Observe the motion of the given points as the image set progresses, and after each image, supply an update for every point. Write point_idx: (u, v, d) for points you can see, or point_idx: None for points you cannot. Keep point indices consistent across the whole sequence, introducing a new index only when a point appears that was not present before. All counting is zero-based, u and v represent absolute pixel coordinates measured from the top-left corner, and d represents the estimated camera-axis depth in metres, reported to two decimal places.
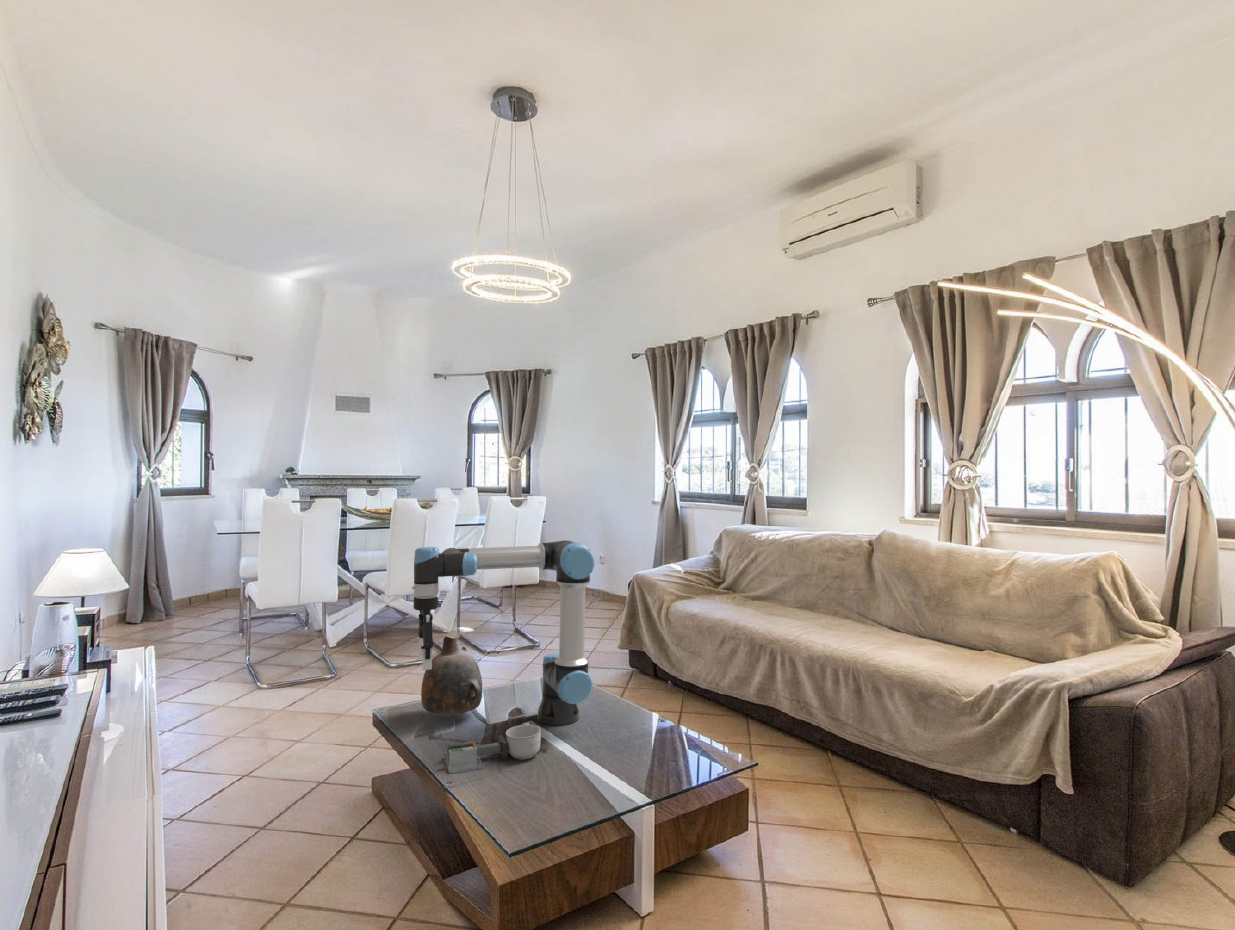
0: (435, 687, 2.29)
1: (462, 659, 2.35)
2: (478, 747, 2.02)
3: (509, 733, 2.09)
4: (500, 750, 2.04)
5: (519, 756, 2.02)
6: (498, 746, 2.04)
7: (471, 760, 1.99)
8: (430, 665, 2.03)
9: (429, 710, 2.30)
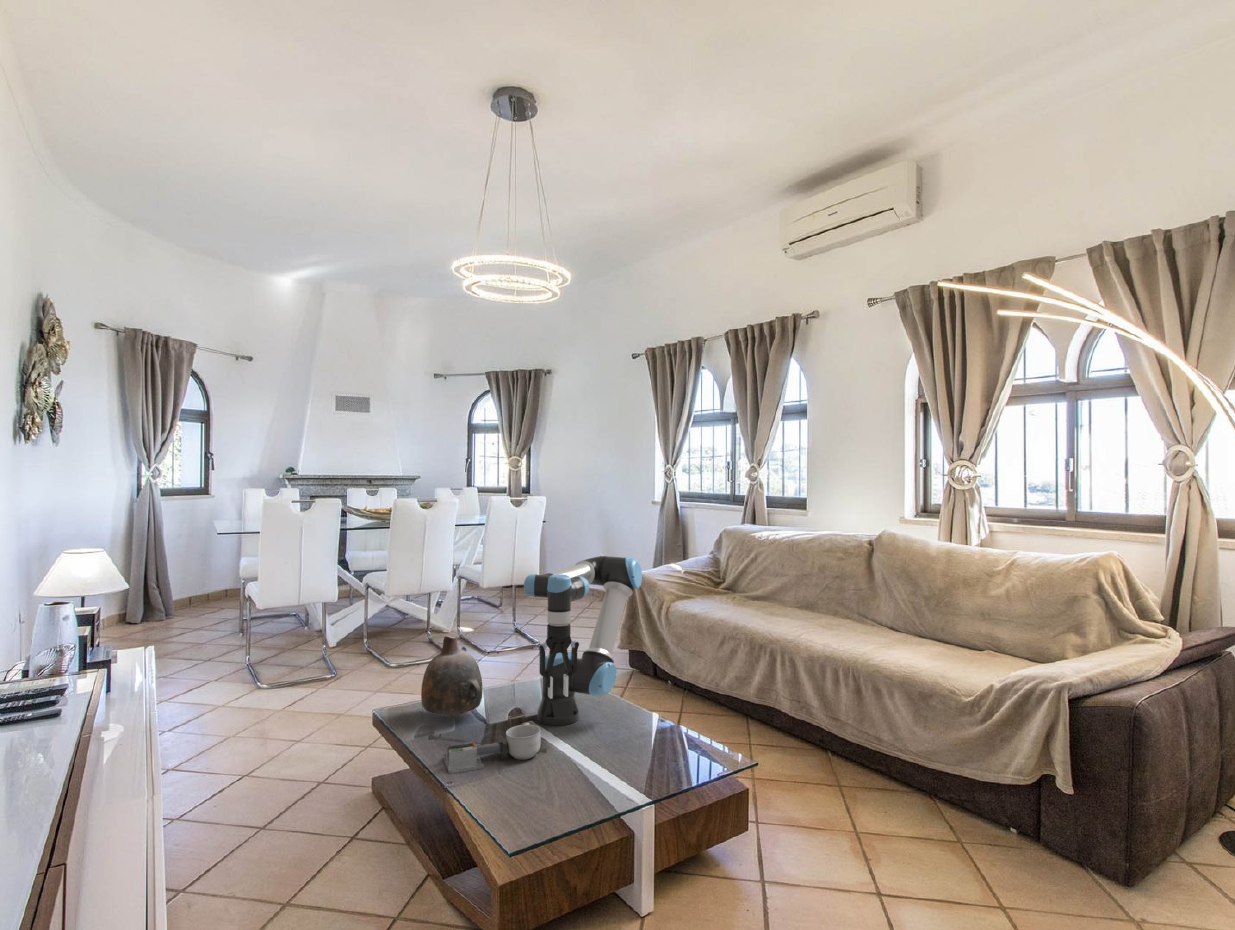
0: (435, 687, 2.29)
1: (462, 659, 2.35)
2: (478, 747, 2.02)
3: (509, 733, 2.09)
4: (500, 750, 2.04)
5: (519, 756, 2.02)
6: (498, 746, 2.04)
7: (471, 760, 1.99)
8: (550, 694, 2.11)
9: (429, 710, 2.30)
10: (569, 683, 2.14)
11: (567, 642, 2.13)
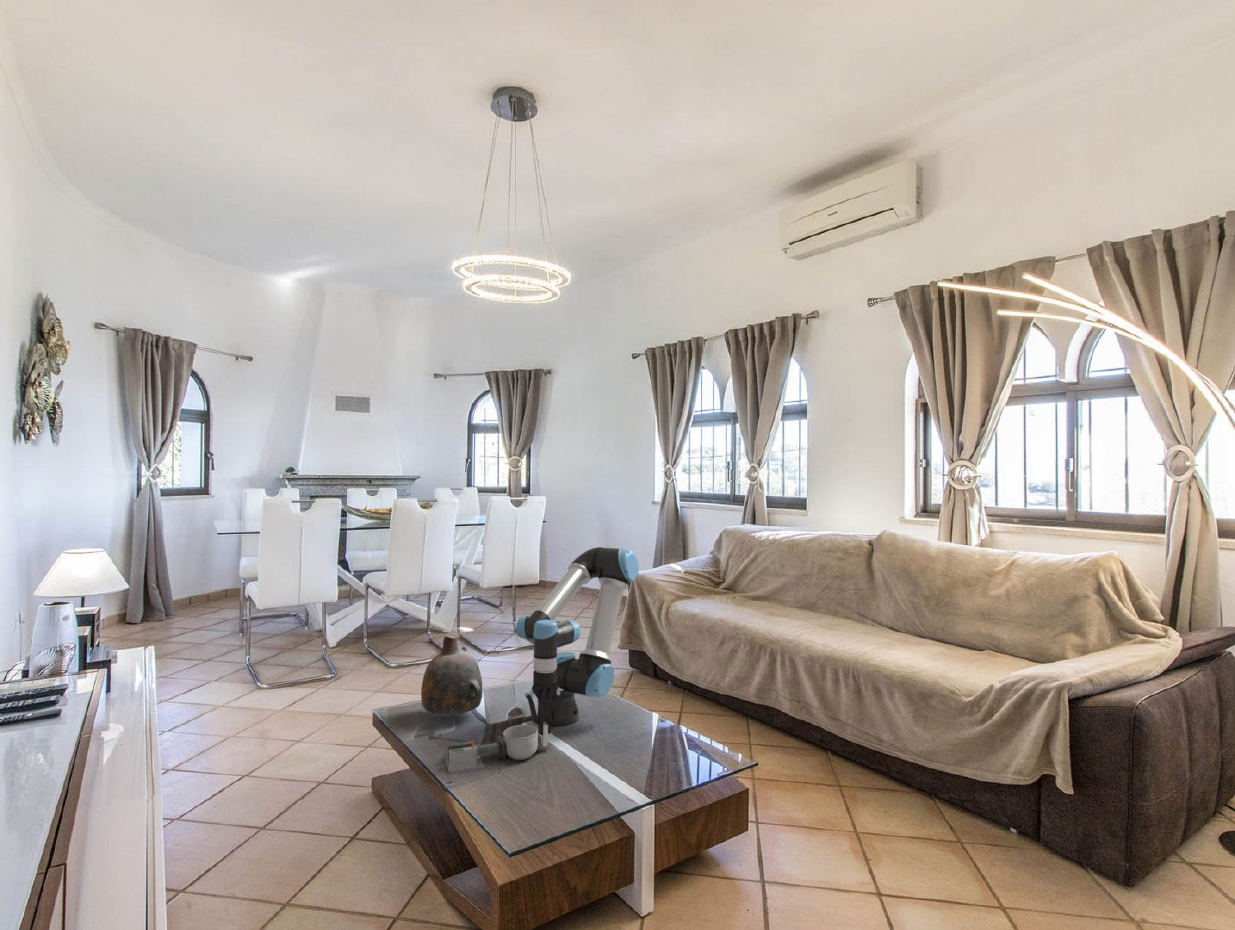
0: (435, 687, 2.29)
1: (462, 659, 2.35)
2: (477, 747, 2.02)
3: (506, 733, 2.08)
4: (499, 750, 2.04)
5: (516, 756, 2.02)
6: (497, 746, 2.04)
7: (471, 760, 1.99)
8: (543, 742, 2.09)
9: (429, 710, 2.30)
10: (549, 732, 2.11)
11: (553, 688, 2.11)
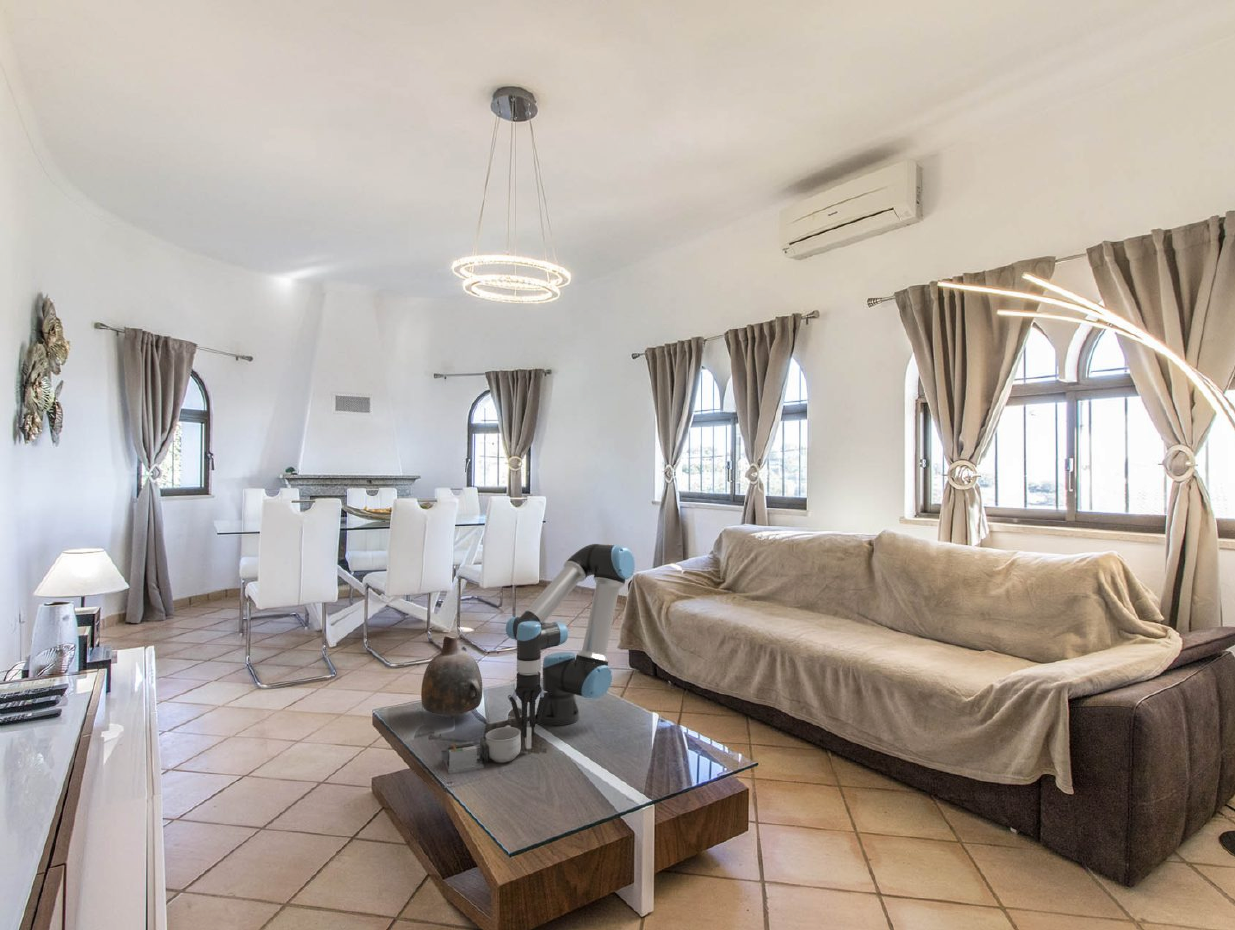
0: (435, 687, 2.29)
1: (462, 659, 2.35)
2: None
3: (489, 735, 2.06)
4: (481, 753, 2.02)
5: (498, 759, 2.00)
6: (479, 748, 2.02)
7: (471, 760, 1.99)
8: (526, 744, 2.07)
9: (429, 710, 2.30)
10: (532, 734, 2.09)
11: (537, 690, 2.09)
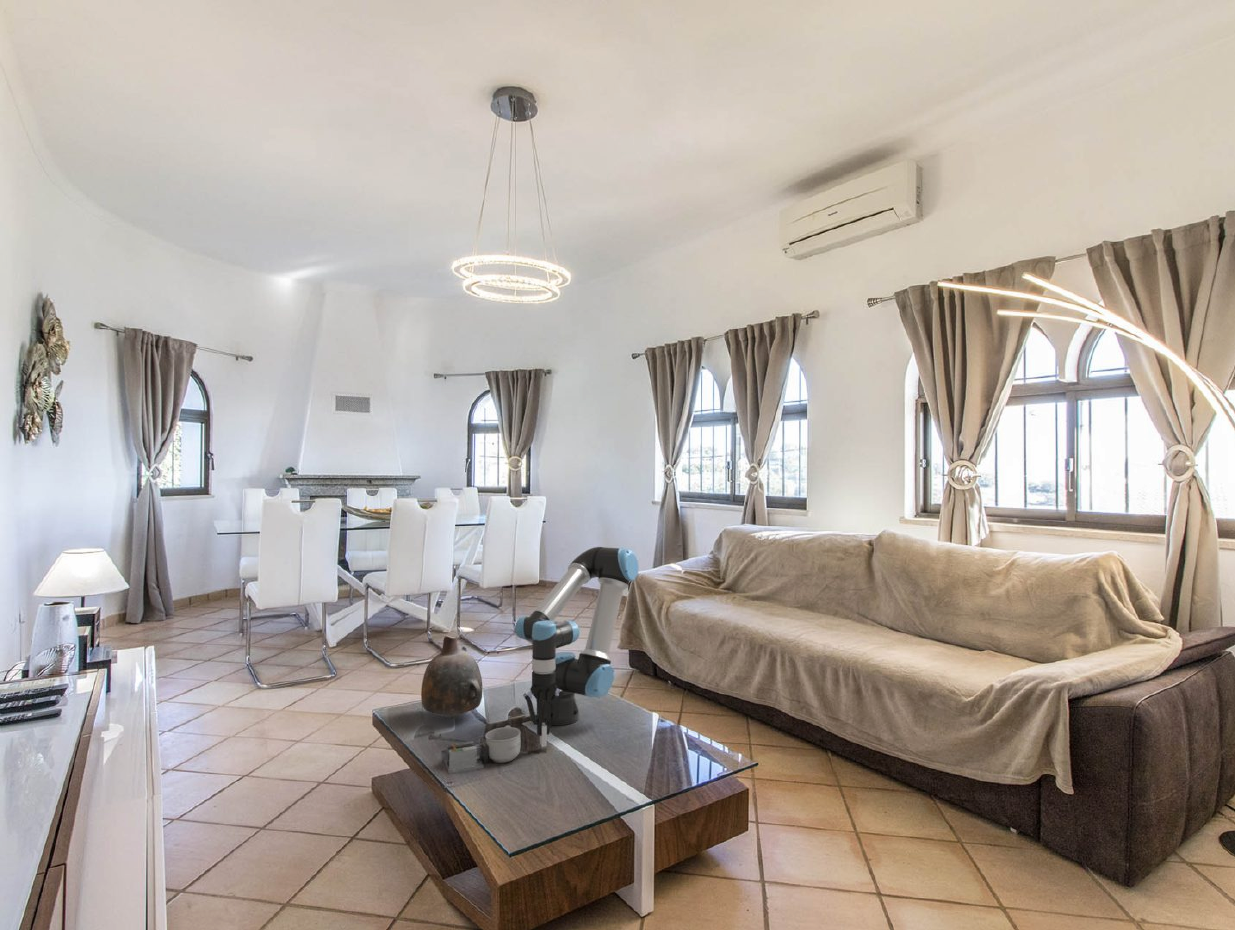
0: (435, 687, 2.29)
1: (462, 659, 2.35)
2: None
3: (489, 736, 2.06)
4: (481, 753, 2.02)
5: (498, 759, 2.00)
6: (479, 748, 2.02)
7: (471, 760, 1.99)
8: (541, 742, 2.10)
9: (429, 710, 2.30)
10: (548, 732, 2.11)
11: (552, 689, 2.11)
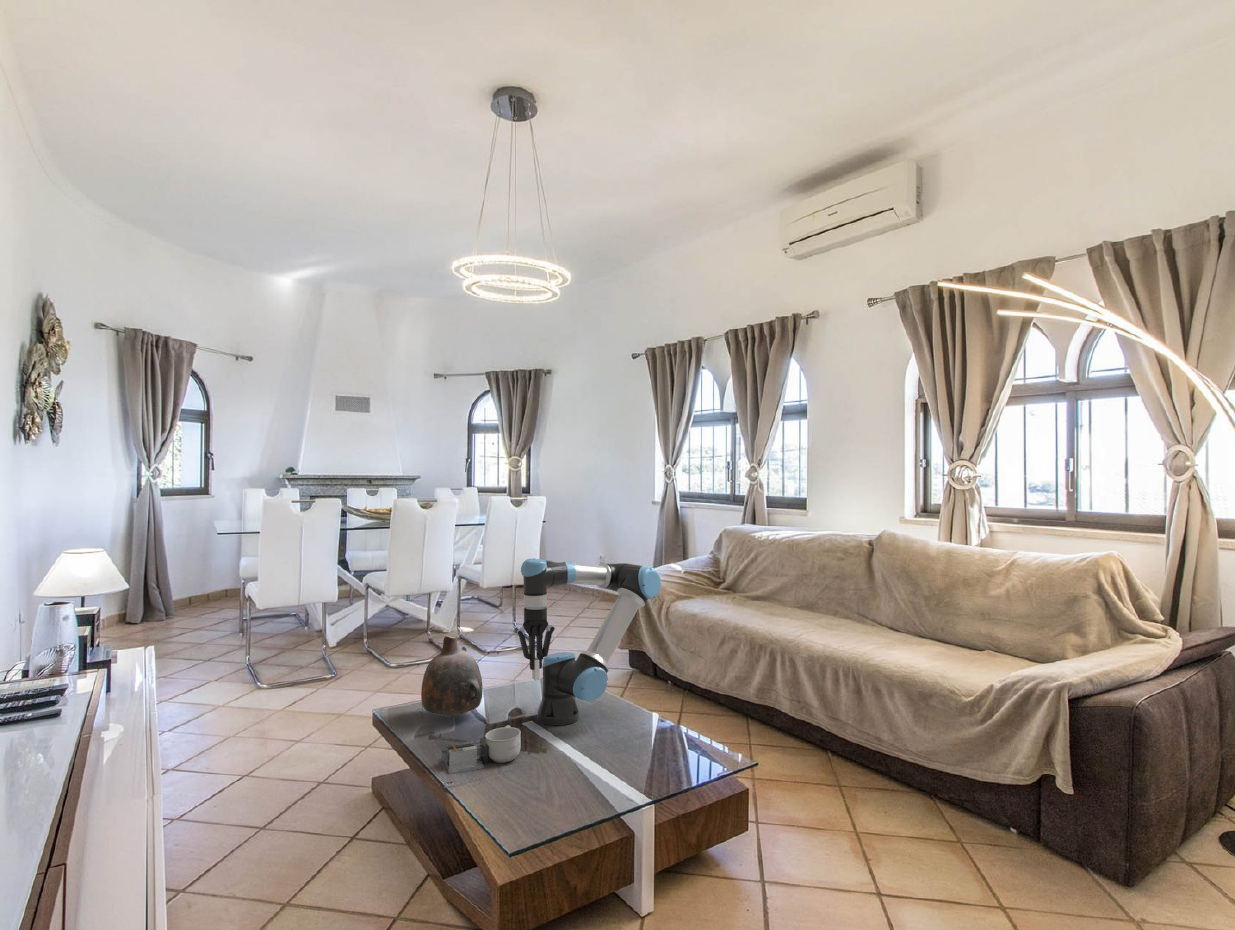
0: (435, 687, 2.29)
1: (462, 659, 2.35)
2: None
3: (489, 736, 2.06)
4: (481, 753, 2.02)
5: (498, 759, 2.00)
6: (479, 748, 2.02)
7: (471, 760, 1.99)
8: (534, 676, 2.16)
9: (429, 710, 2.30)
10: (540, 667, 2.17)
11: (544, 625, 2.17)
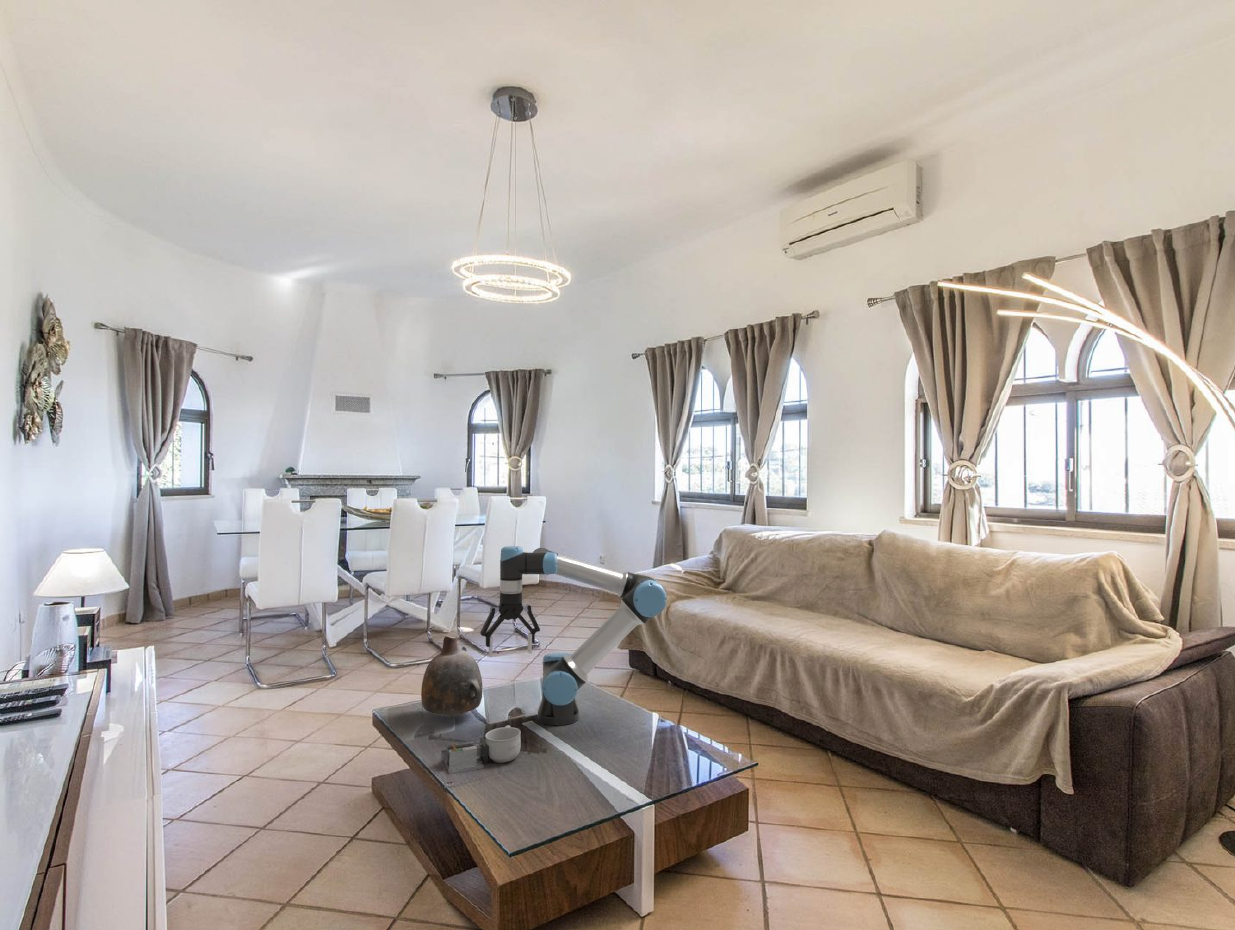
0: (435, 687, 2.29)
1: (462, 659, 2.35)
2: None
3: (489, 736, 2.06)
4: (481, 753, 2.02)
5: (498, 759, 2.00)
6: (479, 748, 2.02)
7: (471, 760, 1.99)
8: (489, 653, 2.22)
9: (429, 710, 2.30)
10: (533, 641, 2.28)
11: (519, 610, 2.26)
